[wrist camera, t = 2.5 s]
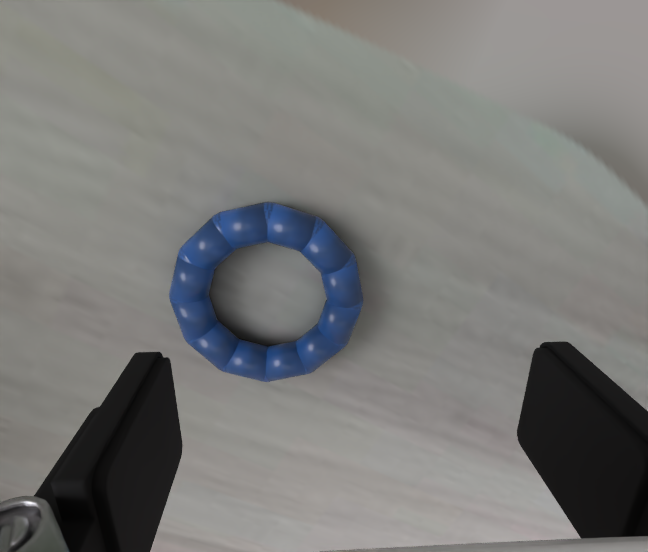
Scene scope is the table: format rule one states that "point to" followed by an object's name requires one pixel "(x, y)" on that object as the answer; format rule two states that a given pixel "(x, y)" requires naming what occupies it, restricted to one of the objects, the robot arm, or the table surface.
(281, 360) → the ring
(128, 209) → the table surface
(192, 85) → the table surface
